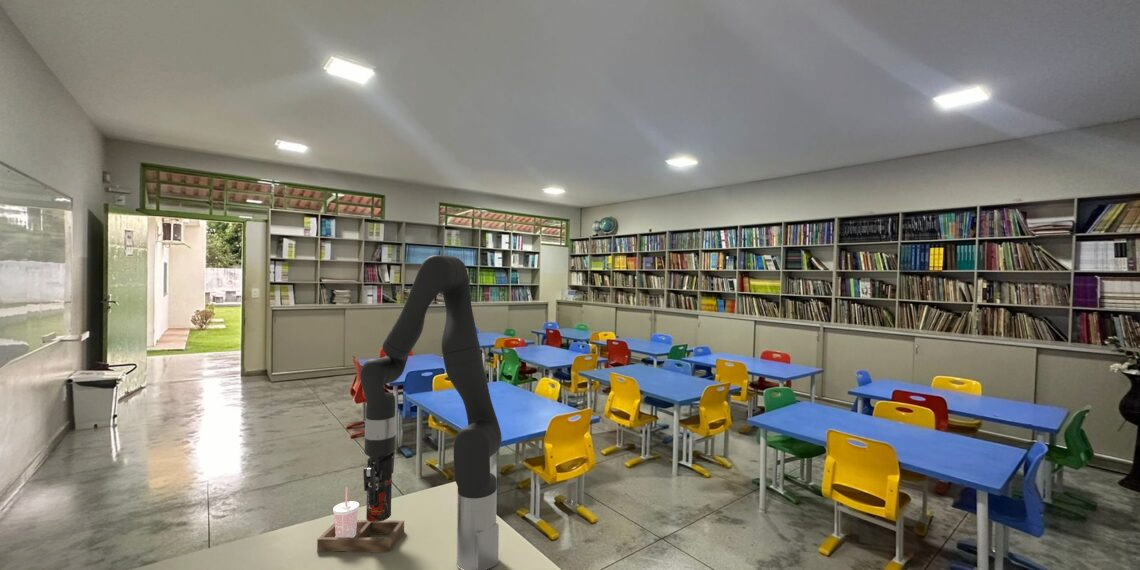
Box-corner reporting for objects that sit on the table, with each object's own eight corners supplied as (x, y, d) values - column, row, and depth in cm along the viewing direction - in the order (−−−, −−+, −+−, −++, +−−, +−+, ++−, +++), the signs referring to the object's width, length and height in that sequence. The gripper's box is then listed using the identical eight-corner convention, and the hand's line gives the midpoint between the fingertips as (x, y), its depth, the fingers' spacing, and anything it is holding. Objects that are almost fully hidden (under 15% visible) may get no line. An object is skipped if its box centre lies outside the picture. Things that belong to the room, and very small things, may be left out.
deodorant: (395, 512, 120) (396, 455, 120) (382, 523, 114) (383, 463, 114) (375, 509, 121) (376, 453, 121) (361, 520, 115) (362, 461, 115)
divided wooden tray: (404, 531, 122) (404, 520, 122) (389, 552, 112) (389, 539, 112) (337, 531, 122) (337, 520, 122) (317, 551, 112) (317, 539, 113)
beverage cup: (362, 534, 121) (362, 481, 121) (353, 547, 115) (354, 491, 115) (338, 535, 120) (338, 482, 120) (328, 548, 114) (329, 492, 114)
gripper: (383, 443, 111) (382, 512, 110) (405, 426, 125) (403, 487, 125) (352, 443, 111) (351, 512, 110) (378, 425, 125) (376, 486, 125)
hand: (379, 498), depth 117 cm, fingers closed on deodorant, 6 cm apart
